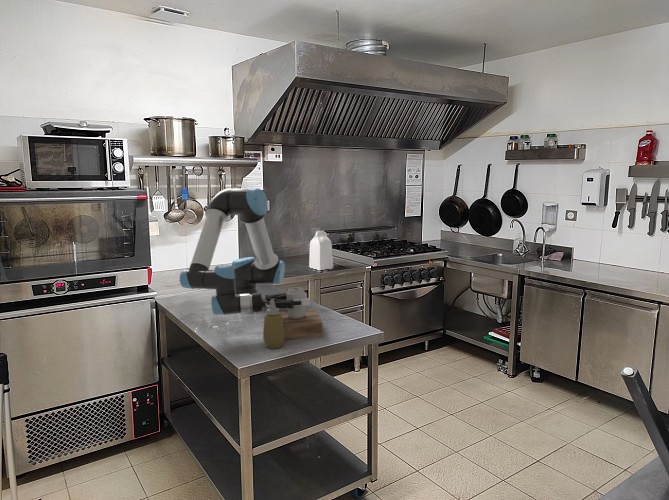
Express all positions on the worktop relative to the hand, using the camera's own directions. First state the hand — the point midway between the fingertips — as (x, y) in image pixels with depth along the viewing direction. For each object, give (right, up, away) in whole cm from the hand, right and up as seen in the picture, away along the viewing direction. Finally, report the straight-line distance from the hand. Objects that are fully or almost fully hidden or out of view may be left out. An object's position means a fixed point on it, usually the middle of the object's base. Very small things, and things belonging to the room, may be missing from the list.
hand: (308, 298), depth 195 cm
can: (-5, -8, 0) cm, 9 cm away
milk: (+2, +7, +131) cm, 131 cm away
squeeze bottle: (-12, -16, -15) cm, 25 cm away
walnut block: (-4, -13, +1) cm, 14 cm away
